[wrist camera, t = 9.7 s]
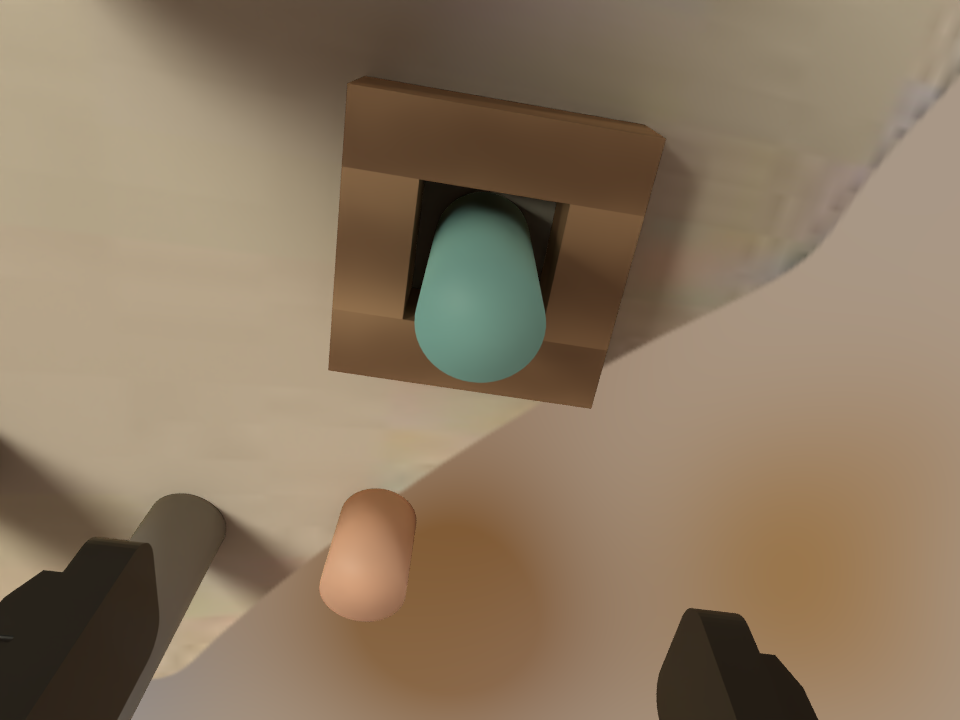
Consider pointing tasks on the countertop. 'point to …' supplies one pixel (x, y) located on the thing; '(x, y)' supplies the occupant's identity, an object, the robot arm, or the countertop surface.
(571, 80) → the countertop surface
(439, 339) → the medium dowel
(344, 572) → the short dowel
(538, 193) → the brown wooden square frame
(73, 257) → the countertop surface
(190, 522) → the long dowel
